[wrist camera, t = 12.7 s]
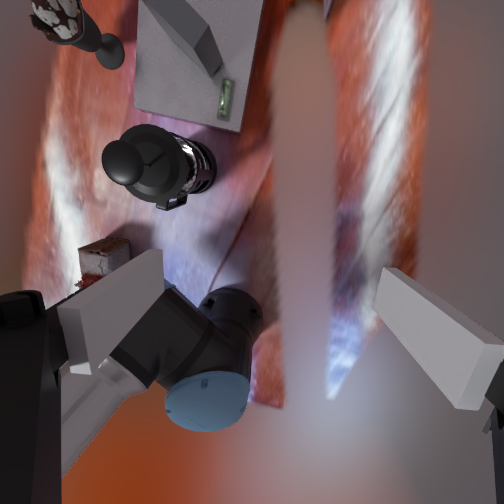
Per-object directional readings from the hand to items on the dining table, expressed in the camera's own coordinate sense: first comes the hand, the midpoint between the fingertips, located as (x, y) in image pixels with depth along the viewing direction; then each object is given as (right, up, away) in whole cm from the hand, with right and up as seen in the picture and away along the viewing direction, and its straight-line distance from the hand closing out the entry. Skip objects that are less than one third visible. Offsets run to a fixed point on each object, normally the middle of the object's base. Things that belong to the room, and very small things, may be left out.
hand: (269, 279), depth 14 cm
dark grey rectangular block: (-11, +34, +21) cm, 42 cm away
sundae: (-25, +35, +25) cm, 50 cm away
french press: (-12, +17, +31) cm, 37 cm away
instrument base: (-10, +34, +24) cm, 43 cm away
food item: (-31, -2, +38) cm, 49 cm away
